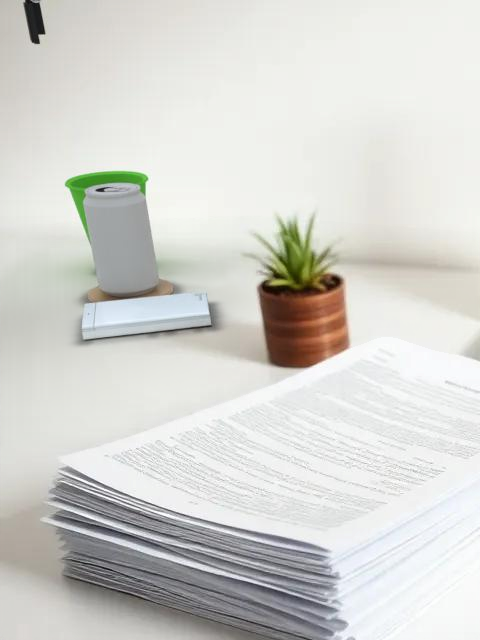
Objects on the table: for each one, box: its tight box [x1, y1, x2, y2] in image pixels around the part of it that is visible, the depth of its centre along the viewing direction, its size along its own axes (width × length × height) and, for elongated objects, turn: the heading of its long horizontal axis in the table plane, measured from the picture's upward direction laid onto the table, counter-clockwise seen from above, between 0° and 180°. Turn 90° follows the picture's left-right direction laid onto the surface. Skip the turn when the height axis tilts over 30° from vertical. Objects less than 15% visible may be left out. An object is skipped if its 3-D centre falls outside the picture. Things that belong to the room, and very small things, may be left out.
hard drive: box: [81, 290, 212, 341], centre depth 122 cm, size 2×8×12 cm
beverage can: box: [83, 183, 160, 297], centre depth 128 cm, size 6×6×12 cm
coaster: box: [87, 278, 174, 303], centre depth 130 cm, size 9×9×1 cm
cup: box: [64, 170, 149, 246], centre depth 137 cm, size 9×9×11 cm
